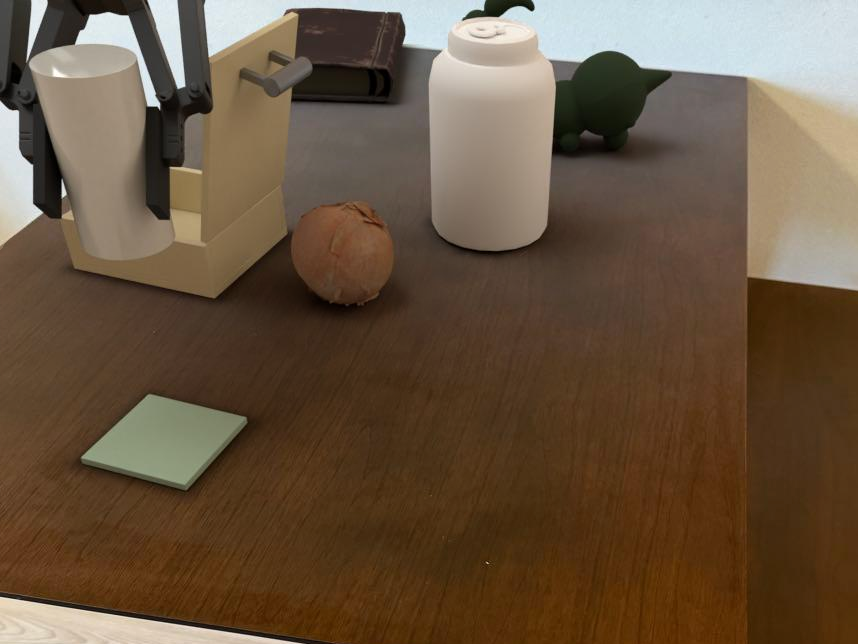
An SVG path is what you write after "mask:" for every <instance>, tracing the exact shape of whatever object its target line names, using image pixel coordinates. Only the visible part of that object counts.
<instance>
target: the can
mask: <svg viewBox="0 0 858 644" xmlns="http://www.w3.org/2000/svg"><path fill="white" fill-rule="evenodd" d="M553 68H554V67H553V63H552V62H550V60H549V59H548V58H547V57H546V56H545V54H544V53H542V51H541V50H540V49H539V37H538V34H537V30H536V29H535V28H534V27H533V26H532V25H530V24H527V23H525V22H522V21H520V20H517V19H512V18H506V17H501V16H500V17H479V18H472V19H467V20H464V21H462V20H461V21H458V22H456V23H454V24H453V25H452V26H451V27H450V29H449V33H448V35H447V46H446V47H444V48H443V50H441V52H439V53H438V55H437V56H436V57H435V58H434V59H433V60H432V65H431V70H430V73H429V78H428V109H429V110H428V111H429V112H428V115H429V152H430V155H429V156H430V157H429V158H430V160H429V161H430V195H431V201H430V202H431V223H432V225H433V227H434V229H435V231H436V232H437V234H438V235H439V236H440V237H442V238H443V239H444V240H446V241H447V242H448V243H450V244H454V245H456V246H459V247H461V248H464V249H465V248H466V249H471V250H476V251H487V252H488V251H491V252H500V251H509V250H516V249H519V248H523V247H526V246H528V245H529V246H530V245H531V244H532V243H534V242H535V241H537V240H539V239H540V238H541V236H542V235H543V234H544V232H545V230H546V228H547V226H548V217H549V204H550V203H549V201H550V200H549V199H550V185H551V169H552V156H553V155H552V154H553V153H552V152H553V139H554V138H553V123H554V107H555V91H556V85H555V82H556V79H555V78H556V77H555V73H554V69H553Z"/></svg>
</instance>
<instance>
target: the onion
mask: <svg viewBox="0 0 858 644" xmlns="http://www.w3.org/2000/svg"><path fill="white" fill-rule="evenodd" d="M387 224H388V223H385V221H384V220H383V219H382V218H381V215H380V214H379V213H378V212H377V210H376V209H373V208H372V207H371V205H370V204H369V203H367V202H366V201H364V200H355V199H354V200H346V201H340V202H337V203H329V204H322V205H318V206H316V207H313V208H312V209H310V210H309V211H307V212H306V213H304V214H303V215H301V217H300V219H299V221H298V223H297V225H296V227H295V229H294V230H293V233H292V236H291V242H290V243H291V244H290V253H291V254H290V256H291V260H292V263H293V265H294V269H295V270H296V272H297V275H298V276H299V277H300V278H301V280H302V281H303V282H304V283H305V284H306V285H307V287H308V291H309V292H313V293H314V294H316V295H317V296H318V297H319V298H320V299H321V300H323V301H324V302H327V301H328V302H329V304H332V303H334V304H337V305H338V304H339V305H345V306H346V307H349V306H350V305H352V304H356V306H364V303H367V302H369V301H371V300H374V299H377V297H378V296H380V295H379V294H380V291H381V290H382V288H383V287H384V286H385V285H386V283H387V282H388V281H389V278H390V276H391V274H392V272H393V268H394V267H393V266H394V260H395V250H394V249H395V248H394V244H393V240H392V237H391V235H390V233H389V231H388V229H387V228H388V226H387Z"/></svg>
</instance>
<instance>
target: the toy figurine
mask: <svg viewBox="0 0 858 644" xmlns="http://www.w3.org/2000/svg"><path fill="white" fill-rule="evenodd" d="M516 7H517V8H518V7H521V8H525V9H526V10H528V11H529V12H531V13H532V12H534V11H535V9H536V6H535V3H534V1H533V0H484V5H483V9H482V10H481V9H472V10H470V11H468V13H467V14H466V15H465V16H464V17H462V19H461V21H464V20H467V19H472V18H479V17H500V18H501V17H502V16H503V15H504V14H505V13H507V12H508V11H510V9H513V8H516ZM672 76H673V72H671V71H670V70H660V69H649V68H648V69H647V68H642V67H641V66H640V65H639V64H638V63H637V62H636V61H635V59H633V58H632V57H630V56H628V55H627V54H625V53H623V52H620V51H617V50H604V51H603V50H602V51H600V52H597V53H595V54H592V55H590V56H589V57H587V58H586V59H585V60H583V61H582V62H581V63H580V64H579V66H578V67H577V68H576V70H575V71H574V73H573V74H572V76H571V79H561V80H558V81H555V85H556V91H555V107H554V123H553V139H555V140H558V143H559V145H560V146H561V148H562V149H563V151H566V152H573V151H575V150H576V149H577V148H579V146H580V142H581V135H582V134H584V132H588V133H590V134H593V135H596V136H600V137H602V139H603V143H604V144H605V145H606V146H607V147H609V148H610V149H612V150H613V149H614V150H619V149H621V148H624V147H625V146H626V144H627V143H628V140H629V137H630V134H629V131H628V130H629V129H631V128H634V127H635V125H636V124H637V121H638V120H639V118H640V116H641V115H642V113H643V111H644V108H645V105H646V103H647V97H648V95H649V94H651V93H652V92H653V91H655V90H656V89H657V88H659V87H660V86H661V85H663V84H664V83H666V82H667V81H668V80H669V79H671V77H672Z"/></svg>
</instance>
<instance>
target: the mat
mask: <svg viewBox="0 0 858 644" xmlns="http://www.w3.org/2000/svg"><path fill="white" fill-rule="evenodd" d="M247 424H248V419H247V417H246V416H244V415H243V416H242V415H239V414H234V413H230V412H226V411H223V410H218V409H214V408H209V407H205V406H201V405H197V404H193V403H189V402H184V401H180V400H176V399H172V398H169V397H164V396H159V395H155V394H151V393H149V394H147V395H146V396H145V397H144V398H143V399H142V400H140V401H139V402H138V404H137V405H135V406H134V407H133V408H132V409H131V410H130V411H129V412H128V413H126V414H125V415H124V417H123V418H122V419H120V420H119V421H118V422H117V423H116V424H114V426H112V427H111V429H109V430H108V431H107V432H106V433H105V434H104V435H103V436H102V437H101V438H100V439H99V440H98V441H97V442H95V444H93V445H92V446H91V447H90V448H89V449H88V450H87V451H86V452H85V453H84V454H83V455H82V456H81V457H80V460H81V463H82V464H83V465H86V466H91V467H95V468H99V469H103V470H106V471H109V472H113V473H118V474H121V475H125V476H129V477H132V478H137V479H141V480H144V481H148V482H151V483H156V484H159V485H162V486H163V485H164V486H167V487H171V488H174V489H179V490H181V491H187V490H188V489H189V488H190V487H191V486H192V485H193V484H194V483H195V482H196V481H197V479H199V477H200V476H202V474H203V473H204V472H205V470H207V469H208V467H209V466H210V465H211V464H212V463H213V462H214V461H215V460H216V458H217V457H218V456H219V455H220V454H221V453H222V452H223V451H224V449H225V448H226V447H227V446H228V445H230V443H231V442H232V441H233V440H234V438H236V437H237V435H239V433H240V432H241V431H242V430H243V429H244V427H245V426H247Z"/></svg>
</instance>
